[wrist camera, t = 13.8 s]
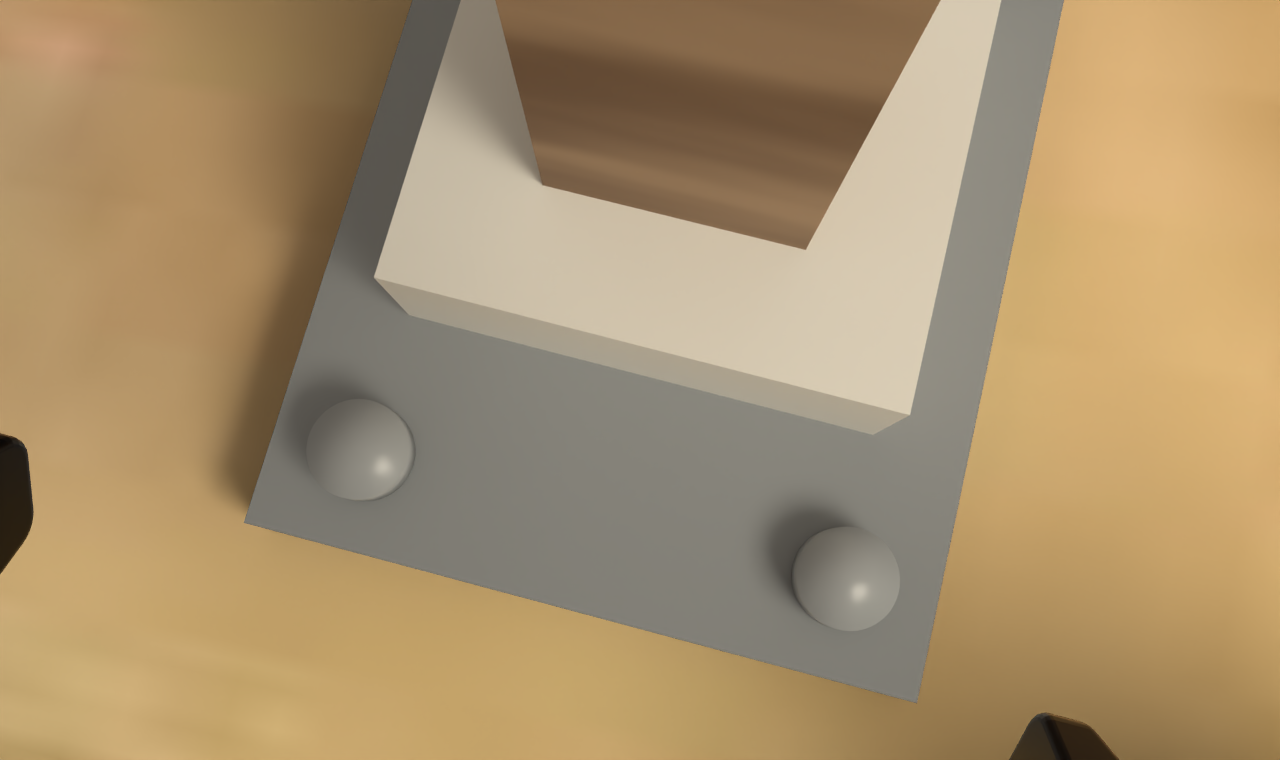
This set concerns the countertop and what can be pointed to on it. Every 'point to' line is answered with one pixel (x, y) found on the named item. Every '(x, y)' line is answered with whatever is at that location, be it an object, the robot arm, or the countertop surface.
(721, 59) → the walnut brick
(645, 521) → the base brick
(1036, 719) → the robot arm
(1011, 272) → the countertop surface
